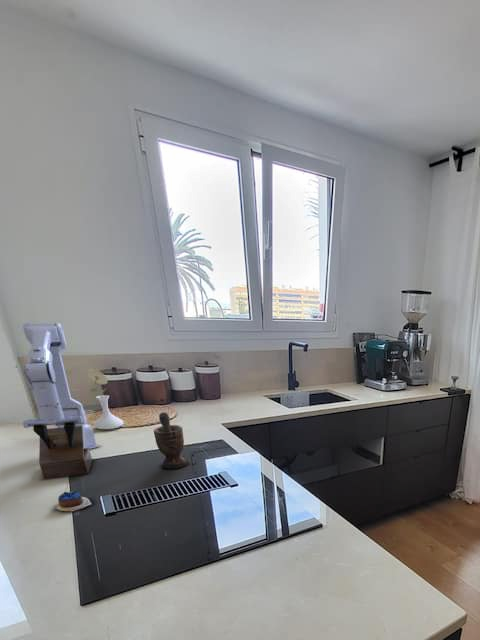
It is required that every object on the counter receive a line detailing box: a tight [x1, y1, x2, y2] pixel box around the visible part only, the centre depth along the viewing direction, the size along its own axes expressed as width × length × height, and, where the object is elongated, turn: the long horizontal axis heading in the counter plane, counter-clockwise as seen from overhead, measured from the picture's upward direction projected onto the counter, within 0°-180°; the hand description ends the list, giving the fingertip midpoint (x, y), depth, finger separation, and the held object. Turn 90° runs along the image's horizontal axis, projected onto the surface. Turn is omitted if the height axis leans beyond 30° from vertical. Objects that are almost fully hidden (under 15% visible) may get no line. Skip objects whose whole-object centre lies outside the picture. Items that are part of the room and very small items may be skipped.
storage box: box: [39, 448, 93, 480], centre depth 128 cm, size 13×11×4 cm
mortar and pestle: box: [153, 411, 187, 470], centre depth 129 cm, size 12×9×20 cm
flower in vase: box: [86, 368, 125, 430], centre depth 168 cm, size 13×11×25 cm
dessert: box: [56, 490, 92, 512], centre depth 106 cm, size 8×7×6 cm
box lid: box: [38, 426, 84, 466], centre depth 123 cm, size 14×11×4 cm
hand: (61, 447), depth 123 cm, fingers closed on box lid, 5 cm apart
